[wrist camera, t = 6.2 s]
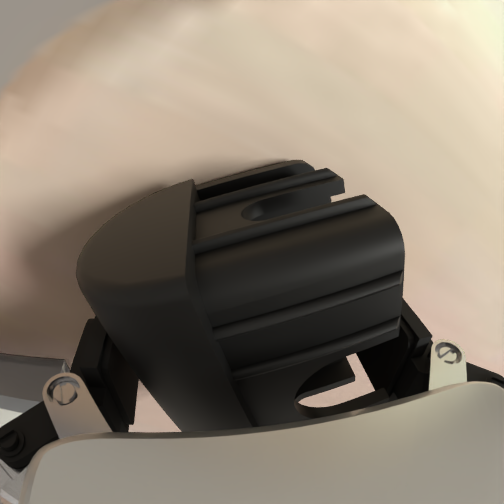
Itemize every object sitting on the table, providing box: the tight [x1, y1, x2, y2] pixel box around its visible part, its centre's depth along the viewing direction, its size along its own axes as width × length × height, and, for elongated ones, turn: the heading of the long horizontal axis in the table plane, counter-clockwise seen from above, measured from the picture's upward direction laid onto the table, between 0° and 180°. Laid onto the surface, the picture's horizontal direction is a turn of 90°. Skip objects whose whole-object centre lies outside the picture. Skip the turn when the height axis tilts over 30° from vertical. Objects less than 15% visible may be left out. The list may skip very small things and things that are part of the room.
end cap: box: [76, 160, 405, 432], centre depth 10 cm, size 10×7×7 cm
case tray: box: [0, 354, 70, 428], centre depth 17 cm, size 21×21×3 cm
